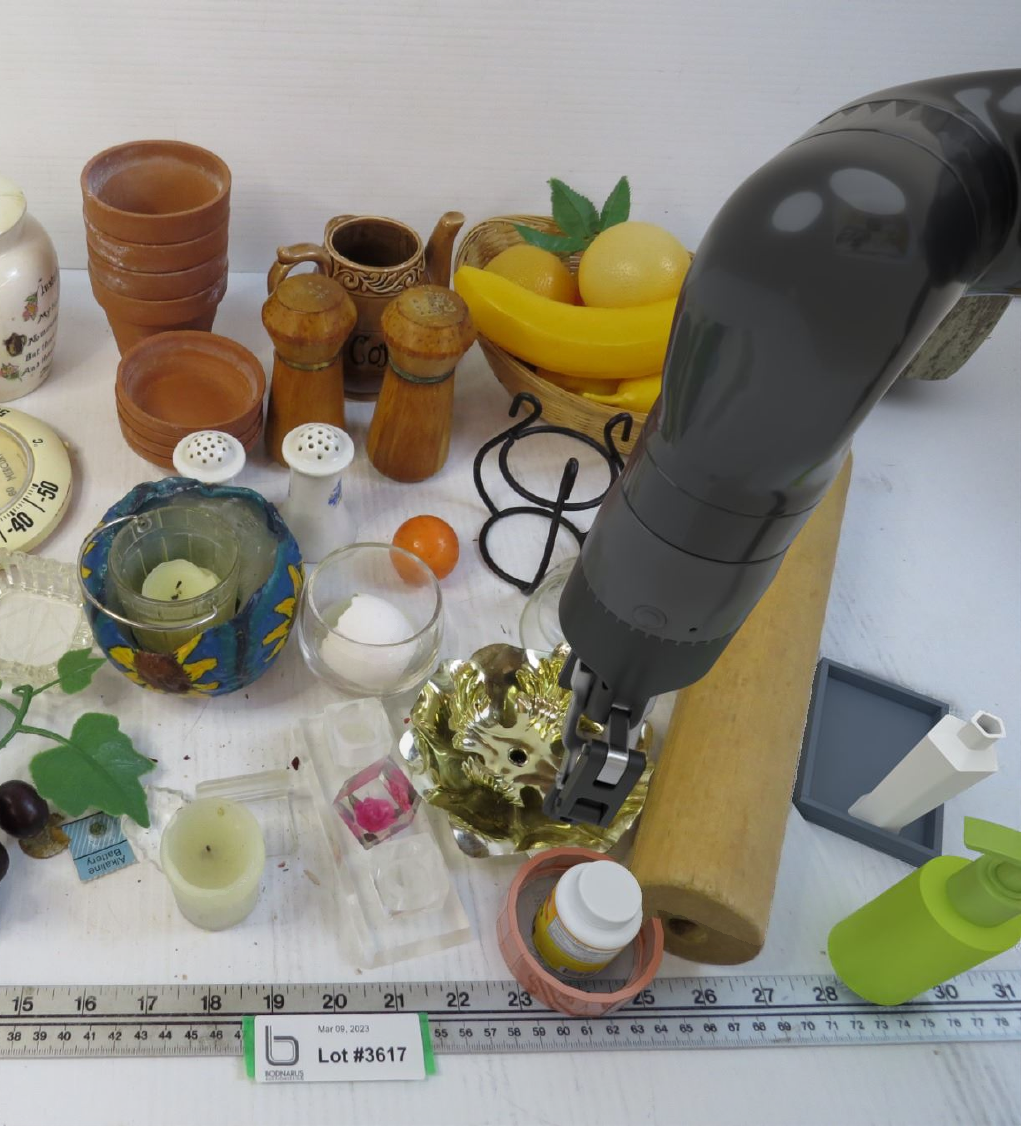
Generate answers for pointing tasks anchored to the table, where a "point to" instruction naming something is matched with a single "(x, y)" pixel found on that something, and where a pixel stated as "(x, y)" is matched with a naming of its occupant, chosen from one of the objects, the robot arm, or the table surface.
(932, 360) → the tabletop clock
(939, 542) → the table surface
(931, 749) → the perfume bottle
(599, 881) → the supplement bottle
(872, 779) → the tray
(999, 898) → the soap dispenser
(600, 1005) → the faceted terracotta bangle
